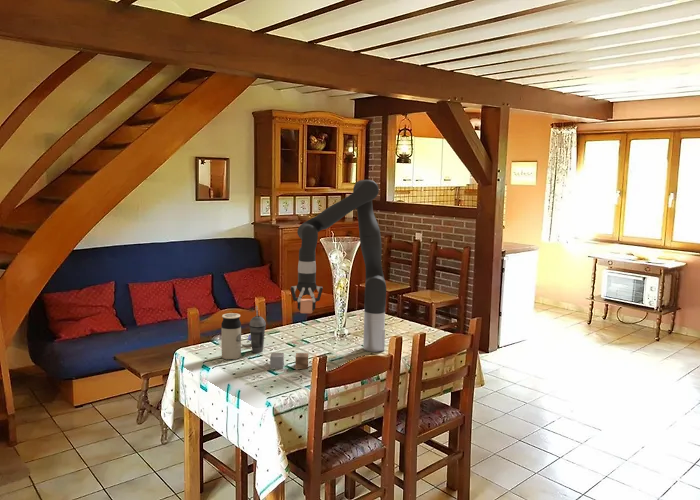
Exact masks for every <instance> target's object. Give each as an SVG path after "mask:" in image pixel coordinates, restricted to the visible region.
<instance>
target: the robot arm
mask: <svg viewBox="0 0 700 500" xmlns="http://www.w3.org/2000/svg"><path fill="white" fill-rule="evenodd" d="M352 190H353V191H352V193H350V194H349V195H347V196H345V198H342V199H341V200H339V201H337V202H336V203H334V204H332V205H330V206H329V207H326V208H325V209H324V210H322V211H321V212H320V213H318V214H317V215H316V216H314V217H312V218H310V219H308V220H306V221H305V222H303V223H301V224H300V225H299V227H298V229H297V236H298V237H299V238H300V239H301V245H300V247H299V249H298V265H297V284H296V285H292V286H290V291H291V296H292V300H293V301H294V302H297V310H298V311H299V312H300V302H301V299H303V298H302V297H303V296H306V295H308V296H310V297H311V298H310V299H312V301H313V302H312V312H314V311H315V310H316V307H317V305H316V303H317V302H319V301H321V297H322V293H323V289H324V288H323V287H324V286H318V285H317V281H316V278H317V277H316V276H317V275H316V274H317V264H316V249H317V244H318V240H319V232H322V231H323V230H327V229H328V228H330V227H332V226H333V225H334V224H335V223H337V222H339V221H340V220H341V219H343V218H344V217H345V216H347V215H348V214H349V213H351V212H352V211H354V210H356V211H357V223H358V232H359V234H358V235H359V236H358V237H359V244H360V248H361V254H362V257H363V262H364V267H365V283H364V284H365V285H364V309H363V311H364V312H363V313H364V314H363V340H362V341H363V345H362V349H364V351H367V352H373V353H374V352H375V353H376V352H382V351H383V352H384V351H385V342H386V339H385V338H386V328H385V323H386V321H385V320H386V305H387V303H386V302H387V283H386V280H385V275H384V270H383V266H382V249H383V248H382V236H381V228H380V227H379V223H378V221H377V219H376V215H375V213H374V208H373V200H375V199H376V198H377V197H378V195H379V191H380V189H379V186H378V183H376V182H375V181H374V180H373V179H360V180H357V181H356V182H355V184H354V186H353V189H352ZM297 290H298V291H299V295H298V297H297V295H296V291H297ZM316 290H317V292H318V293H317V297H315V294H314V292H315V291H316Z"/></svg>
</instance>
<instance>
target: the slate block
mask: <svg viewBox="0 0 700 500" xmlns="http://www.w3.org/2000/svg"><path fill="white" fill-rule="evenodd" d="M284 354H285V353H284V352H271V353H270V357H269V359H270V360H269V368H270V369H271V370H272V369H273V370H274V369H275V370H283V369H284V364H285V363H284V362H285V361H284V360H285V357H284V356H285V355H284Z"/></svg>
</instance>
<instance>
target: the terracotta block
mask: <svg viewBox="0 0 700 500" xmlns="http://www.w3.org/2000/svg"><path fill="white" fill-rule="evenodd" d="M312 302H313V301H312V298H301V302H300V311H299V312H300V314H313V311H312Z"/></svg>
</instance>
